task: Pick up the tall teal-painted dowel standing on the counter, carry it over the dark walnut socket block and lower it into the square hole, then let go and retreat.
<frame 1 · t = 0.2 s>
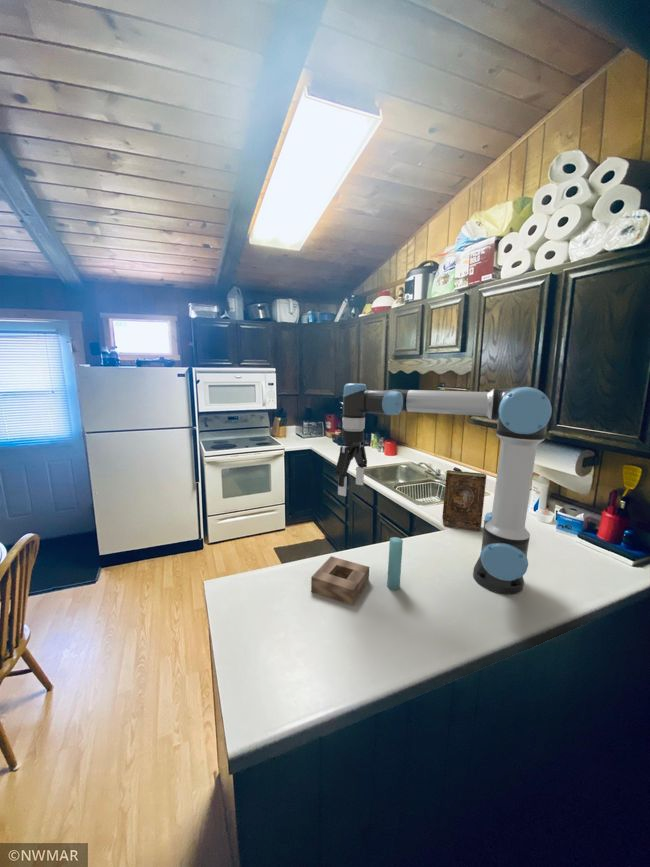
hand: (351, 489, 120), 27 cm above the worktop, fingers open, 13 cm apart
peg: (393, 586, 111), on the worktop
socket block: (340, 586, 111), on the worktop
book: (461, 526, 157), on the worktop
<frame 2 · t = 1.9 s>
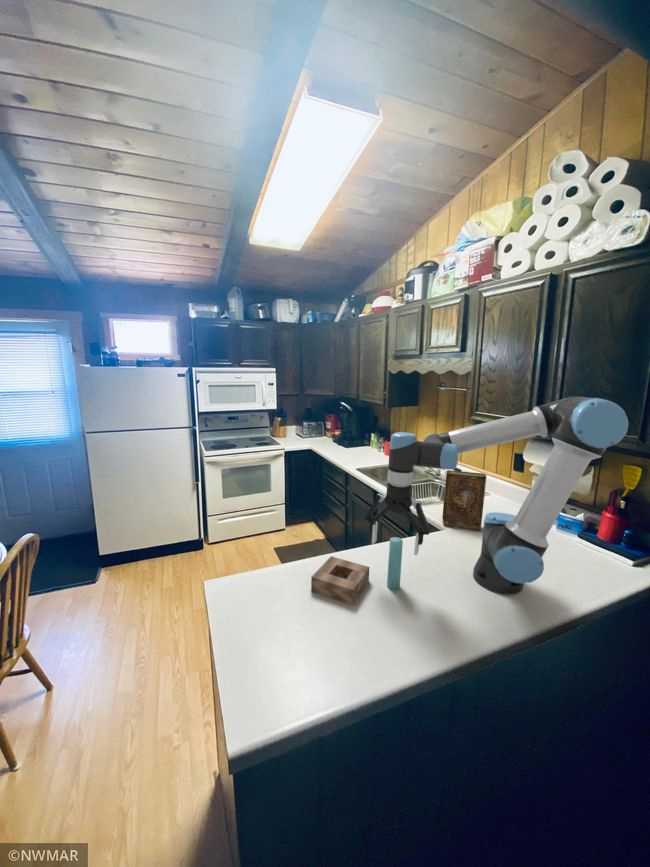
hand: (394, 547, 109), 13 cm above the worktop, fingers open, 13 cm apart
nothing on the worktop moved.
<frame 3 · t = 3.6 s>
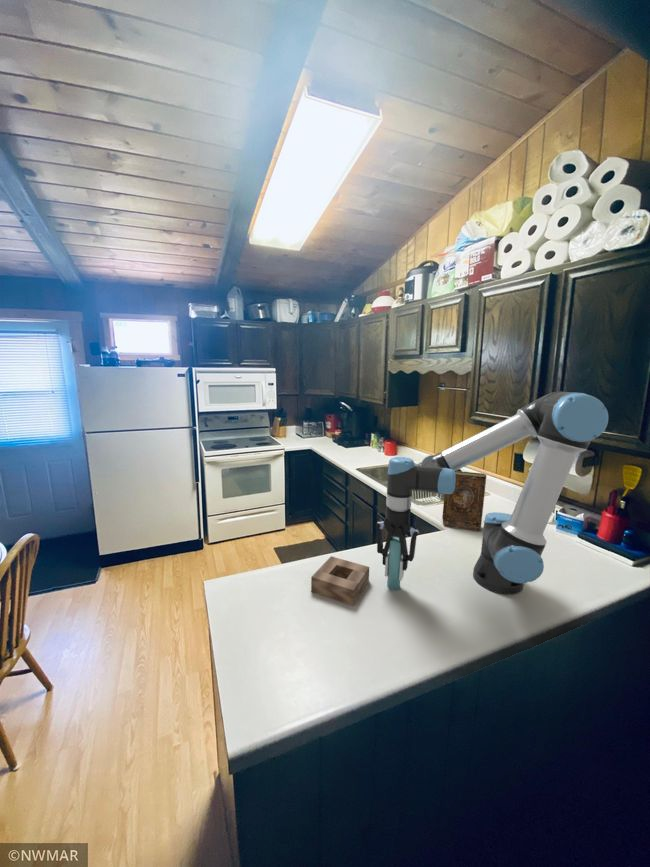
hand: (394, 576, 110), 4 cm above the worktop, fingers closed on peg, 4 cm apart
peg: (393, 586, 111), on the worktop, touching gripper
everything else where it was.
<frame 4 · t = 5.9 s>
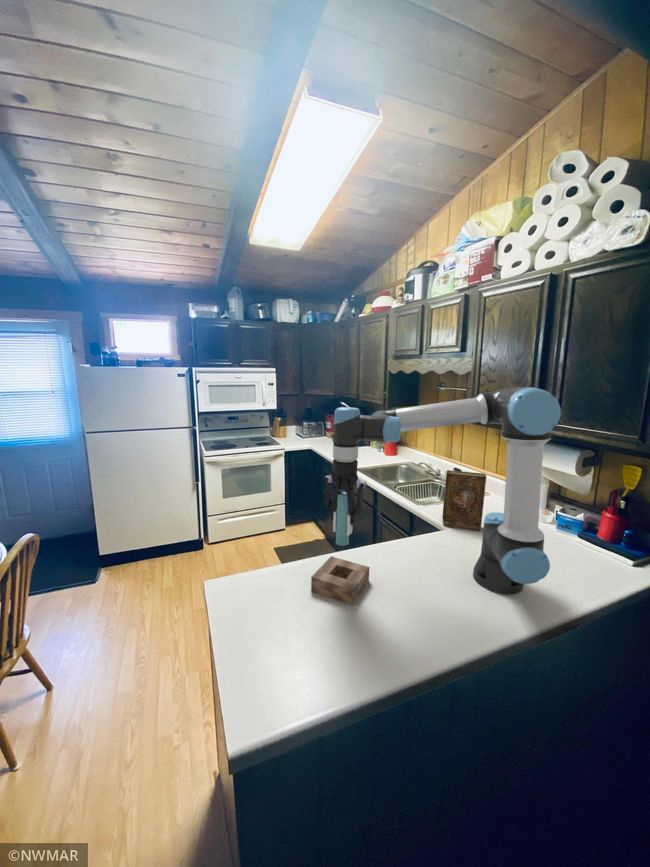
hand: (342, 531, 107), 19 cm above the worktop, fingers closed on peg, 4 cm apart
peg: (342, 542, 108), point 15 cm above the worktop, touching gripper
everything else where it was.
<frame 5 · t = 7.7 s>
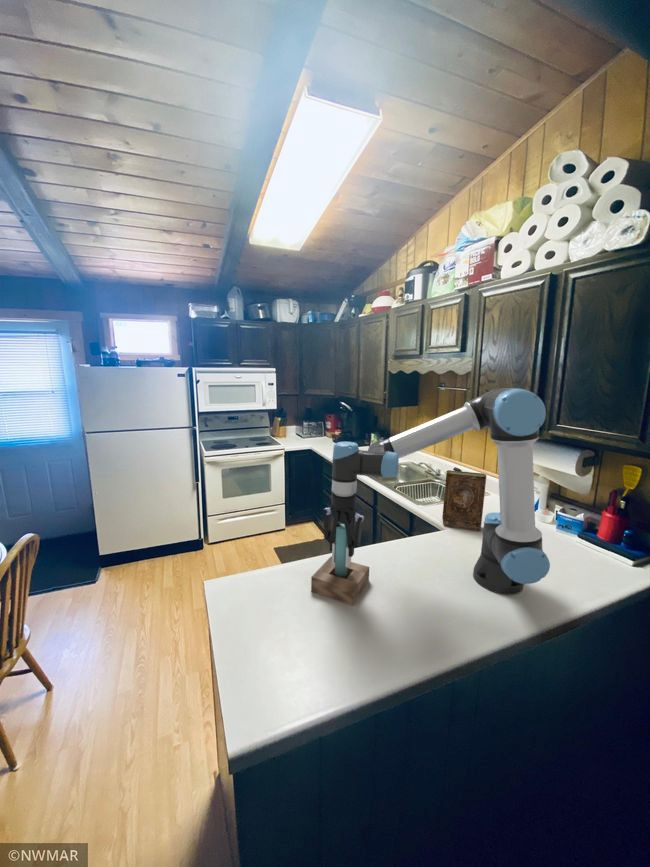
hand: (341, 562, 109), 8 cm above the worktop, fingers closed on peg, 4 cm apart
peg: (340, 573, 110), point 4 cm above the worktop, touching gripper
everything else where it was.
when the fingers open (7 cm above the worktop, at t = 8.6 s): peg drops 3 cm, resting in socket block.
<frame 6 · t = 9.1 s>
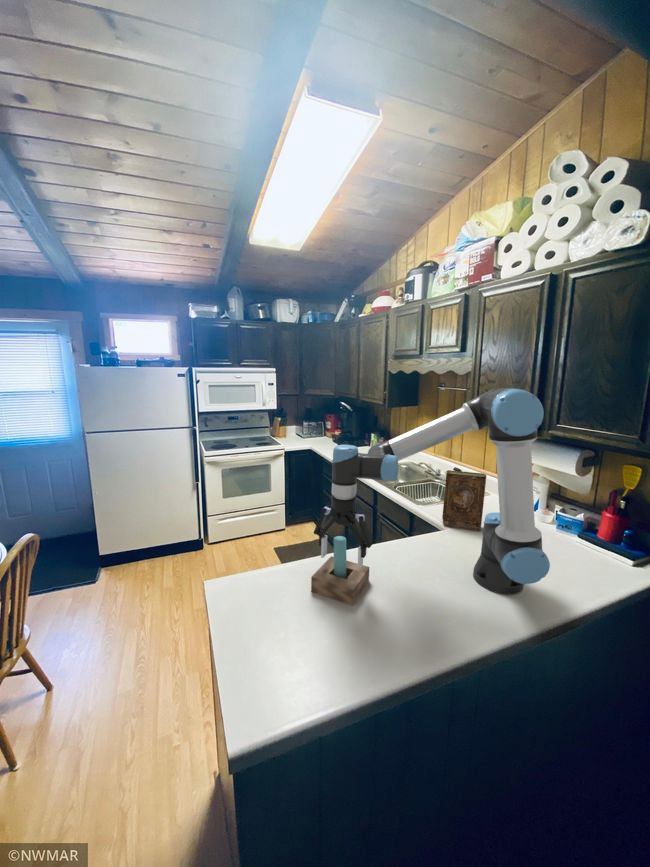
hand: (341, 560, 109), 9 cm above the worktop, fingers open, 12 cm apart
peg: (340, 585, 111), resting in socket block
everything else where it was.
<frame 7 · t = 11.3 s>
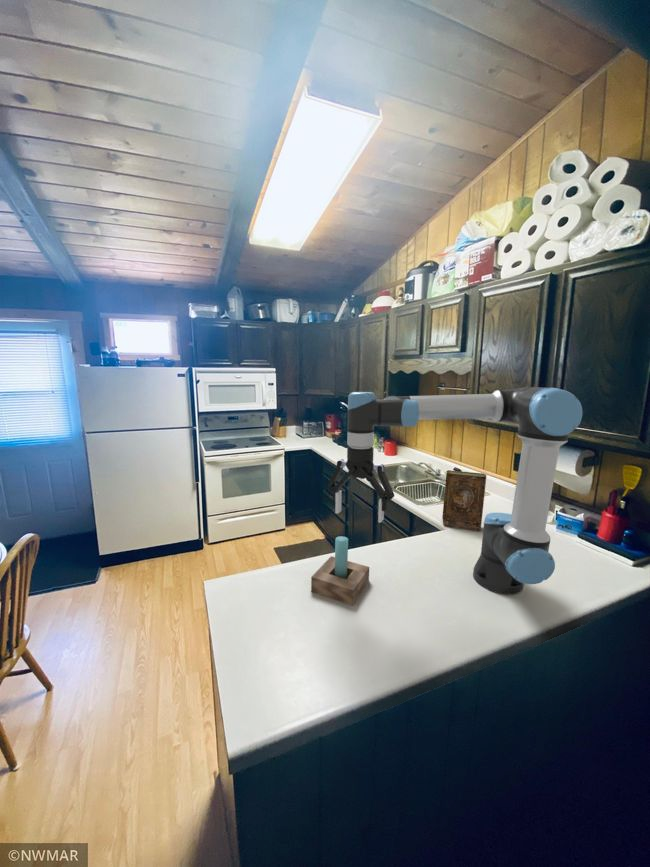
hand: (359, 516, 102), 26 cm above the worktop, fingers open, 13 cm apart
nothing on the worktop moved.
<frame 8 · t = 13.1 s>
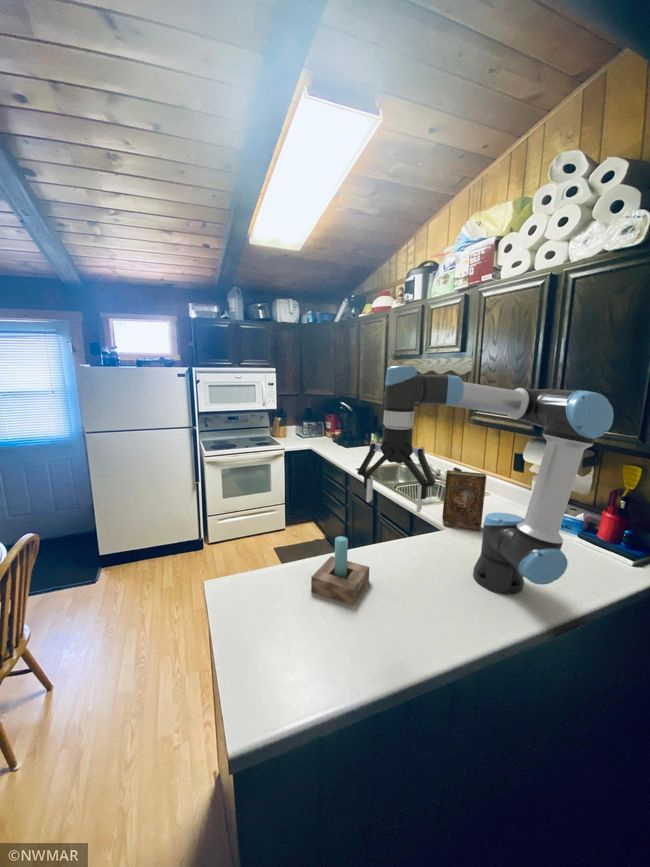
hand: (393, 505, 92), 33 cm above the worktop, fingers open, 13 cm apart
nothing on the worktop moved.
at the end: peg 0.1 cm off-centre on the socket block, point 0.0 cm above the socket block's base; peg tilted 1°; the gripper is holding nothing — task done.
